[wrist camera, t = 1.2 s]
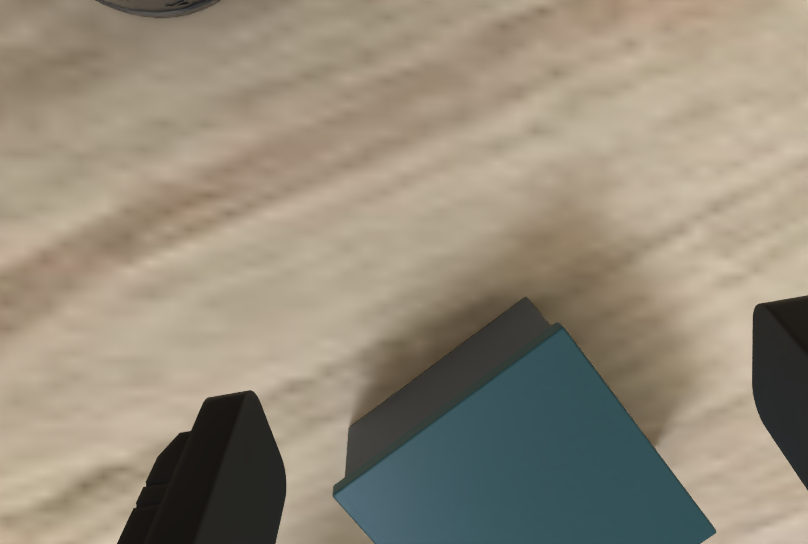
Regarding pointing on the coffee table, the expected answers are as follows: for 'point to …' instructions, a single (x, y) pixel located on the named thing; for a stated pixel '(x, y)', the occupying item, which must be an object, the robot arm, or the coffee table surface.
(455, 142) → the coffee table surface
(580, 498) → the container
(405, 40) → the coffee table surface
